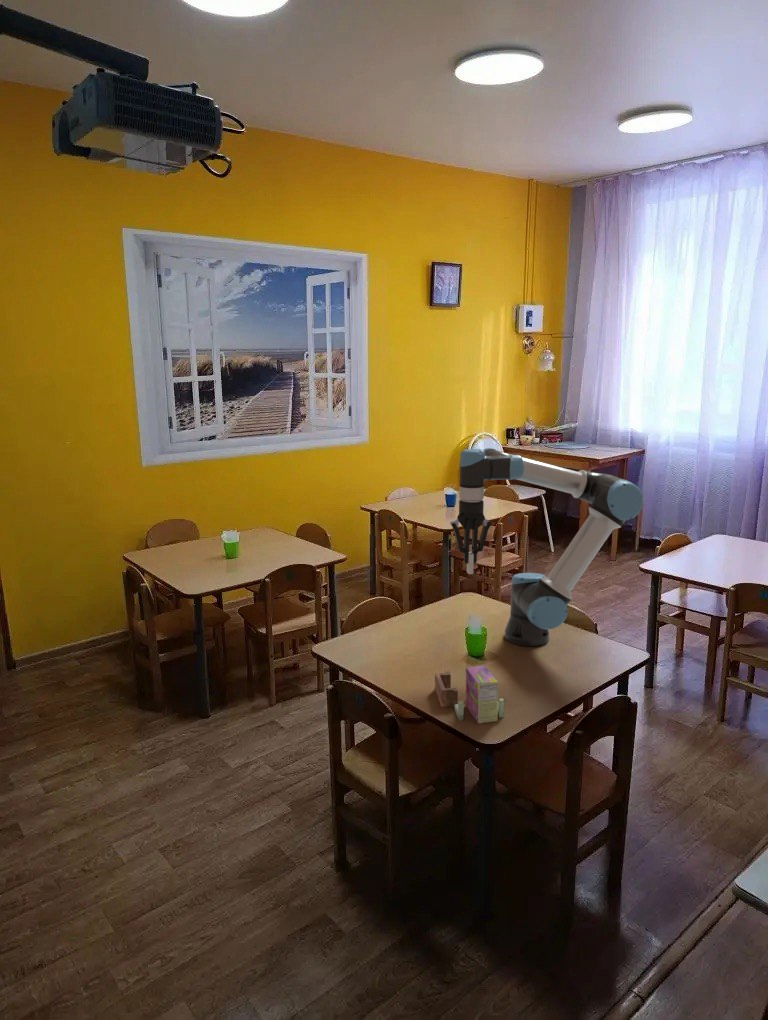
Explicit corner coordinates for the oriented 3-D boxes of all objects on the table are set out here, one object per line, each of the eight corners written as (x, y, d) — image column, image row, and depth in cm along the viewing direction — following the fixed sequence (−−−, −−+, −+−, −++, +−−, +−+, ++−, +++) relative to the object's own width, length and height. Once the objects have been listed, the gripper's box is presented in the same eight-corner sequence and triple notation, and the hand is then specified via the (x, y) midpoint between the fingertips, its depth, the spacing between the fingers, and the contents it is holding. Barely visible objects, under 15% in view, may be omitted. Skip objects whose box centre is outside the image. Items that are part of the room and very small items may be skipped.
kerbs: (497, 706, 193) (498, 690, 192) (503, 717, 188) (504, 700, 186) (454, 709, 192) (454, 692, 191) (459, 720, 186) (459, 703, 185)
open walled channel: (485, 684, 206) (486, 669, 205) (496, 704, 194) (497, 688, 193) (434, 687, 204) (434, 672, 203) (442, 708, 193) (442, 691, 192)
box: (465, 705, 194) (465, 666, 192) (484, 703, 195) (485, 664, 193) (477, 724, 184) (478, 684, 182) (497, 721, 185) (498, 681, 183)
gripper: (488, 496, 216) (487, 568, 221) (448, 497, 214) (447, 570, 220) (495, 501, 209) (493, 575, 214) (453, 502, 207) (452, 577, 212)
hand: (469, 572), depth 217 cm, fingers closed
